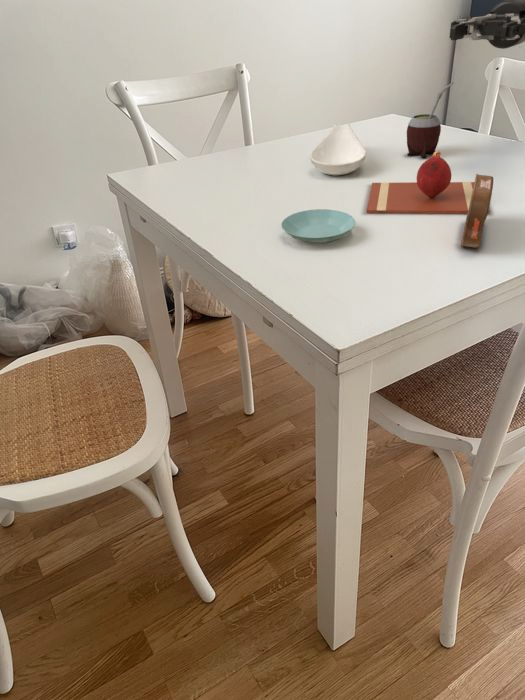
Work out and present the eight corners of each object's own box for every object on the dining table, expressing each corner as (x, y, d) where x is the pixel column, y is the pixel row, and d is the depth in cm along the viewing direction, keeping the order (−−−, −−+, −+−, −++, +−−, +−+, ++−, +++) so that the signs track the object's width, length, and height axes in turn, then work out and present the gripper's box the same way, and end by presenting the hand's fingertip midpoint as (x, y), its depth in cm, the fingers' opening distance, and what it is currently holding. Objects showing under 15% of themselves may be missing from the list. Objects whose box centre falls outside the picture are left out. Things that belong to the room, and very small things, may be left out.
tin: (466, 218, 89) (473, 166, 84) (486, 219, 88) (495, 166, 83) (458, 256, 77) (466, 198, 73) (481, 258, 76) (491, 200, 72)
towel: (480, 185, 101) (480, 181, 101) (488, 214, 89) (489, 210, 89) (372, 185, 106) (372, 182, 106) (366, 213, 94) (366, 210, 94)
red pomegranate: (442, 205, 93) (448, 157, 88) (410, 201, 95) (413, 155, 91) (452, 194, 97) (458, 148, 92) (421, 191, 99) (425, 146, 95)
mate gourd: (402, 151, 124) (407, 79, 115) (438, 149, 123) (445, 76, 114) (408, 160, 117) (414, 85, 109) (445, 158, 117) (454, 82, 108)
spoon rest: (365, 179, 109) (366, 143, 105) (307, 181, 111) (306, 145, 107) (366, 148, 128) (367, 116, 124) (317, 150, 130) (316, 119, 126)
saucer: (369, 231, 87) (370, 218, 86) (322, 257, 81) (321, 243, 80) (315, 216, 95) (314, 204, 93) (267, 239, 88) (266, 225, 87)
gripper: (479, -1, 100) (439, 7, 91) (561, -5, 92) (526, 3, 82) (474, 45, 104) (435, 58, 95) (551, 45, 96) (517, 59, 87)
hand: (477, 32), depth 89 cm, fingers open, 8 cm apart
